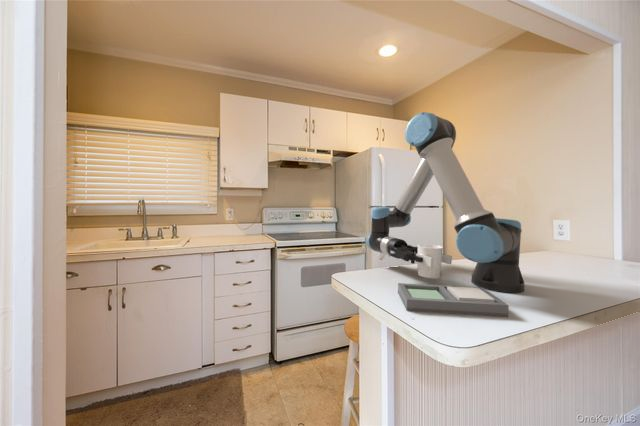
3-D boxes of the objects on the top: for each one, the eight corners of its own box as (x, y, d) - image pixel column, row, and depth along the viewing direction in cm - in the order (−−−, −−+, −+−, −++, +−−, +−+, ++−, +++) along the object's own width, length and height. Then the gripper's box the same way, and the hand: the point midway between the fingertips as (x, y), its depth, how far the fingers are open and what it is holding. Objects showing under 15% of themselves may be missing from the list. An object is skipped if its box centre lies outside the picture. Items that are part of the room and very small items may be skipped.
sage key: (436, 293, 78) (436, 290, 78) (447, 305, 69) (447, 301, 69) (406, 291, 79) (406, 288, 79) (413, 303, 70) (413, 299, 70)
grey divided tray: (481, 297, 79) (482, 287, 78) (507, 316, 66) (508, 305, 65) (397, 292, 82) (398, 283, 81) (406, 310, 69) (407, 299, 68)
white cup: (444, 280, 82) (446, 249, 81) (418, 277, 84) (419, 247, 83) (438, 273, 90) (439, 244, 89) (414, 271, 91) (415, 243, 91)
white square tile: (478, 291, 77) (478, 287, 76) (494, 303, 68) (494, 299, 68) (446, 289, 78) (447, 286, 78) (458, 301, 69) (459, 297, 69)
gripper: (413, 254, 107) (463, 269, 86) (372, 258, 99) (416, 276, 78) (414, 236, 107) (464, 247, 86) (373, 239, 99) (417, 251, 78)
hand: (441, 261), depth 82 cm, fingers closed on white cup, 7 cm apart
